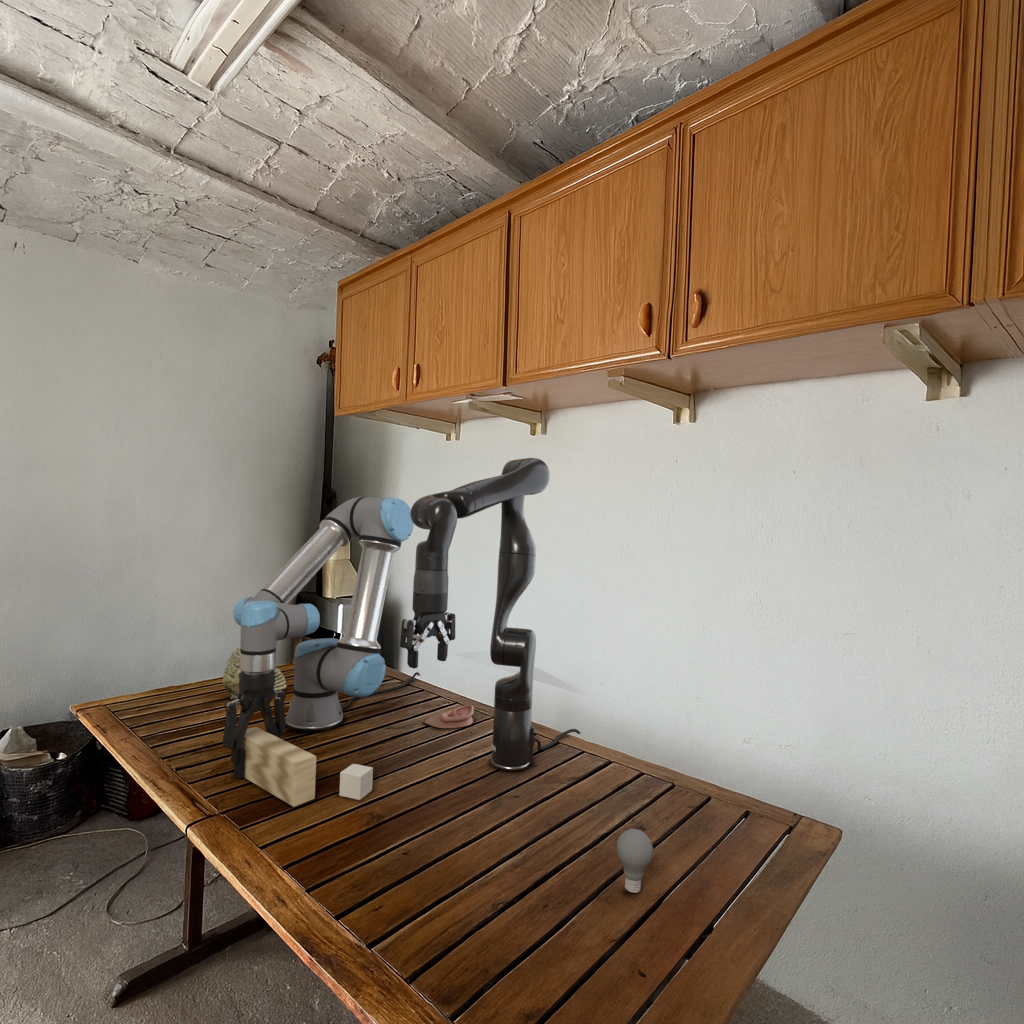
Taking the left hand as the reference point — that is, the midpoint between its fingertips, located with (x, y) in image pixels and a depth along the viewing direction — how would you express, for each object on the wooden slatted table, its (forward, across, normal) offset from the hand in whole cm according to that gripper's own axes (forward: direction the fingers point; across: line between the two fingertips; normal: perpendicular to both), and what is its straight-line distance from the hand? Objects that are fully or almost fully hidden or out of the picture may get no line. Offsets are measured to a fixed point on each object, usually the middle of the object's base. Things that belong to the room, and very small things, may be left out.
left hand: (253, 771), depth 143 cm
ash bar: (0, 0, +8) cm, 8 cm away
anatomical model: (0, -55, +8) cm, 56 cm away
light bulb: (0, -20, +85) cm, 87 cm away
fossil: (0, -29, -51) cm, 59 cm away
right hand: (-28, -20, +34) cm, 48 cm away
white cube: (0, -10, +24) cm, 26 cm away
